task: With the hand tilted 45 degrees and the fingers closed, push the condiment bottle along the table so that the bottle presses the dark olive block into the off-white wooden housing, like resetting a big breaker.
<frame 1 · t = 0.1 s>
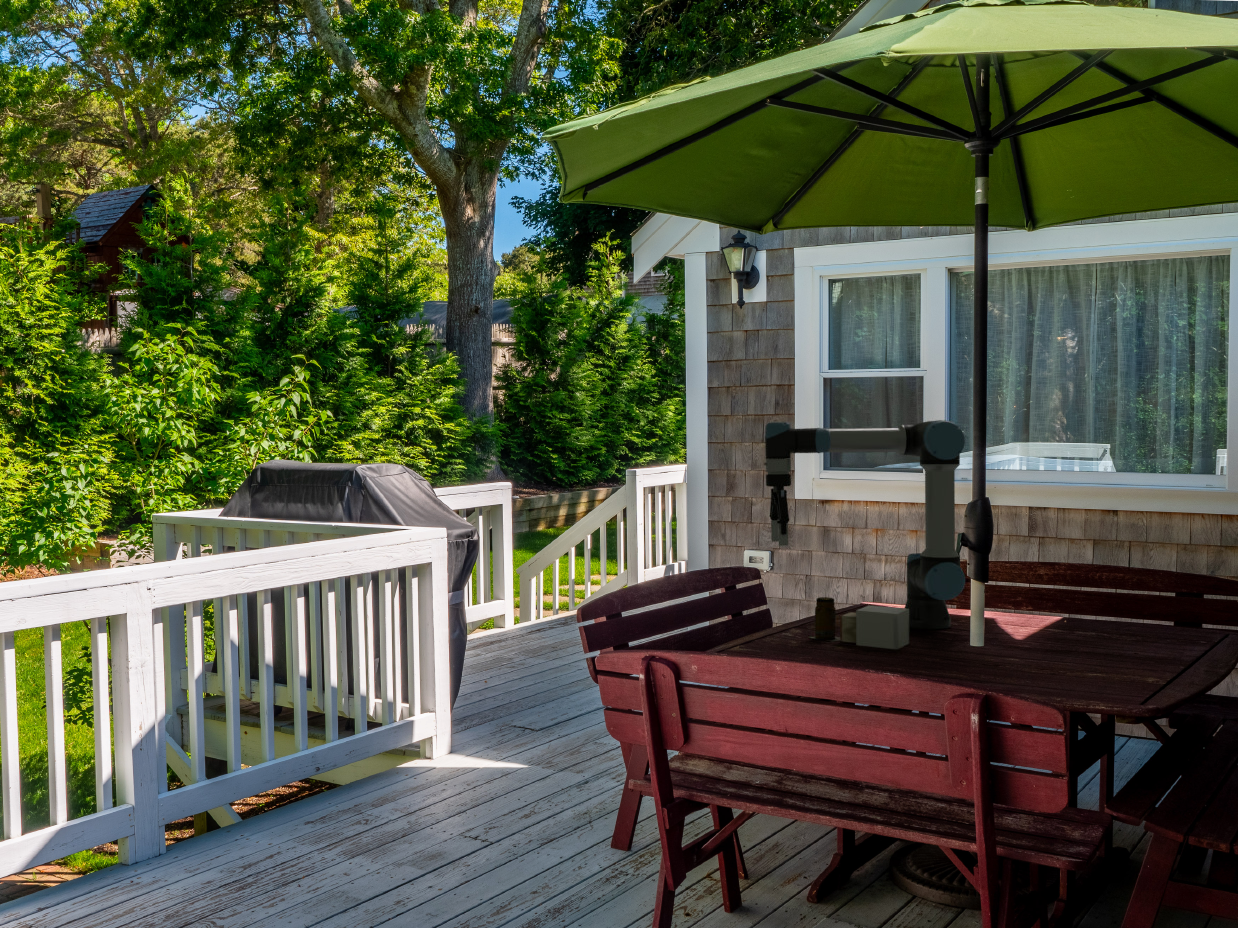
hand: (779, 543, 317), 28 cm above the table, tool pointing down, fingers open, 13 cm apart
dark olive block: (858, 627, 306), point 4 cm above the table, slide at 0.0 cm
housing: (846, 640, 308), on the table
condiment: (827, 639, 312), on the table
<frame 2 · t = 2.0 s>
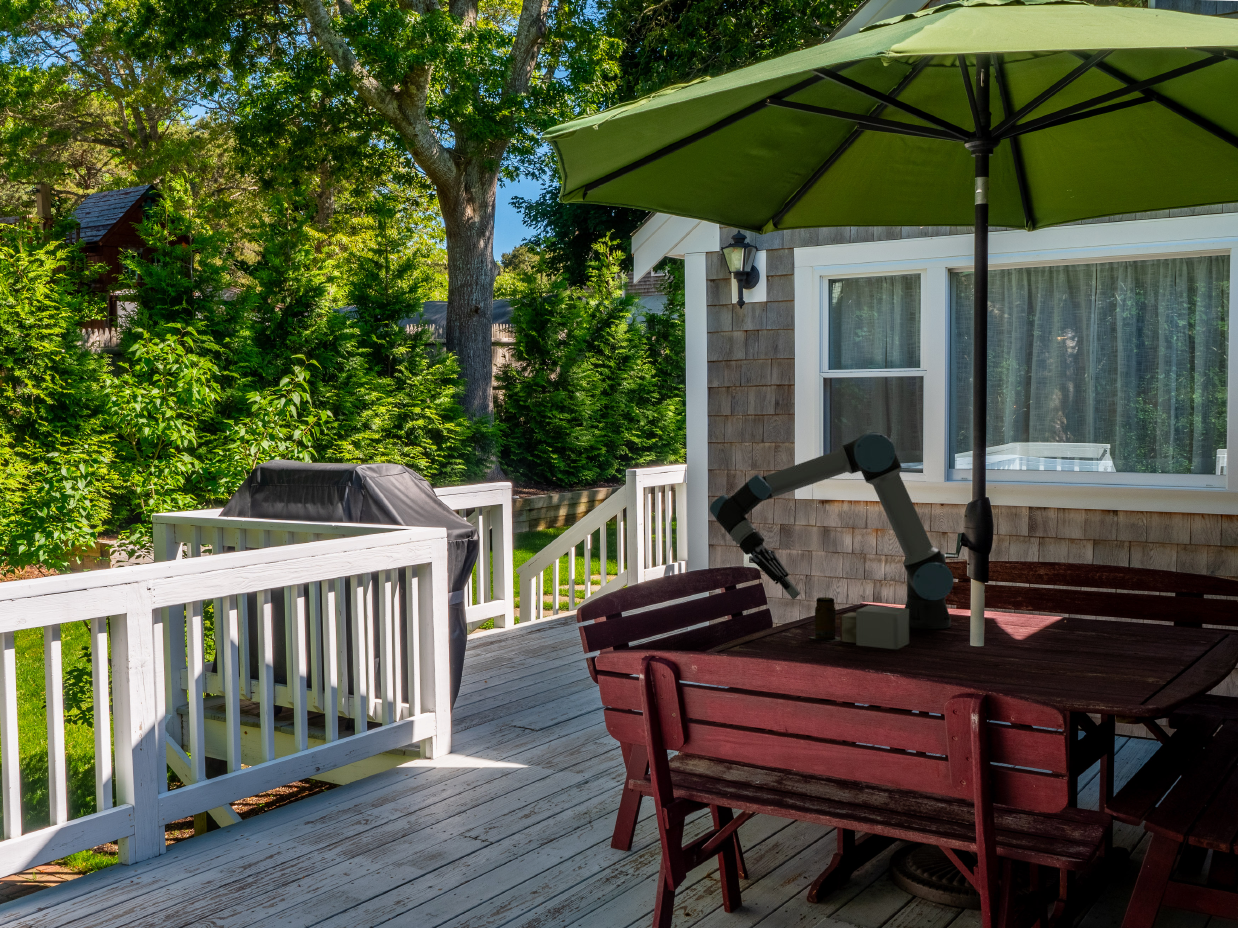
hand: (796, 596, 316), 12 cm above the table, tool tilted 45°, fingers closed
nothing on the table moved.
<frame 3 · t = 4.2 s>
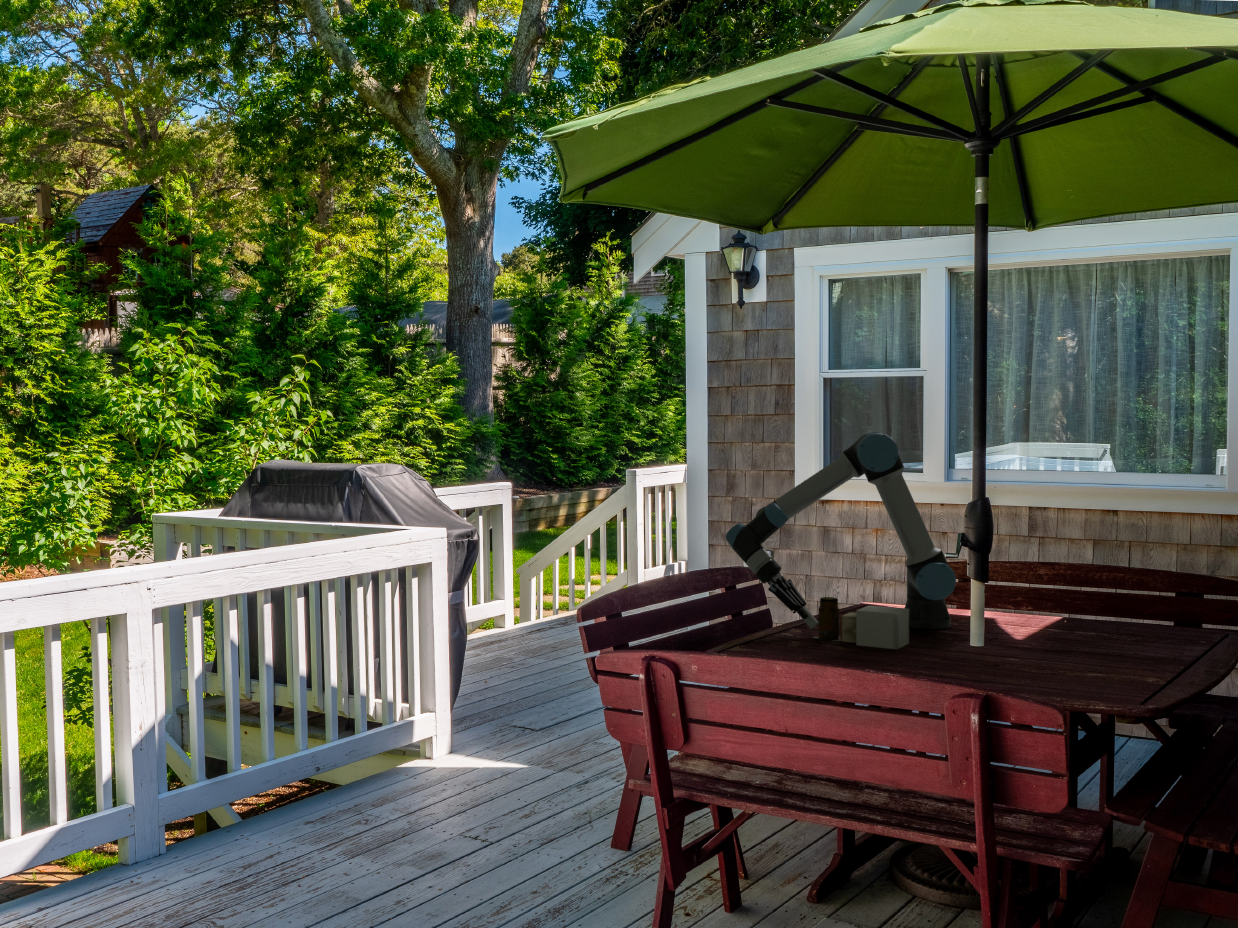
hand: (815, 625, 313), 4 cm above the table, tool tilted 45°, fingers closed
condiment: (830, 639, 311), on the table, touching gripper
everything else where it was.
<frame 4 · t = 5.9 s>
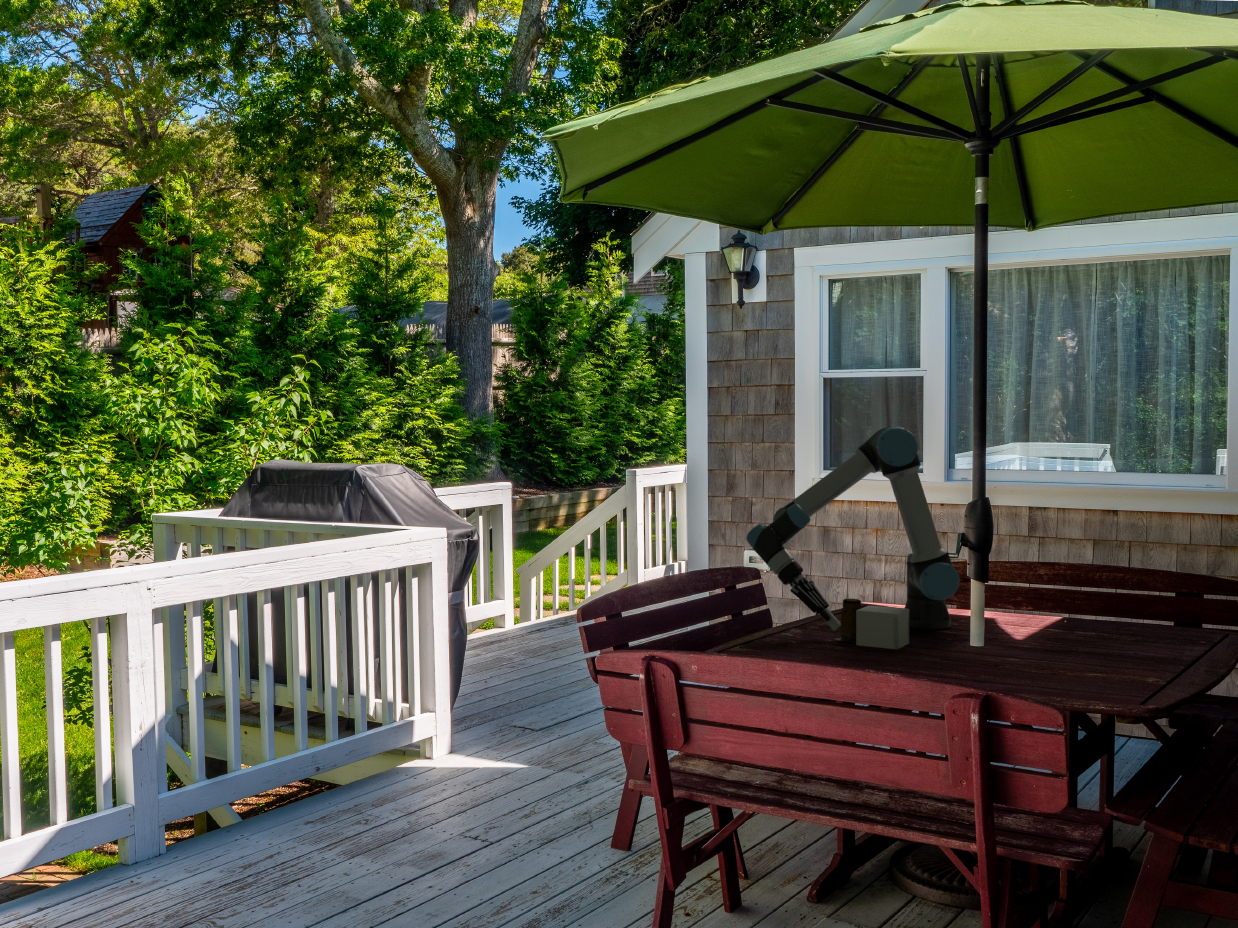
hand: (837, 627, 310), 4 cm above the table, tool tilted 45°, fingers closed
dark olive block: (881, 629, 302), point 4 cm above the table, slide at 6.9 cm, touching condiment
condiment: (853, 641, 307), on the table, touching gripper, housing, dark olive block
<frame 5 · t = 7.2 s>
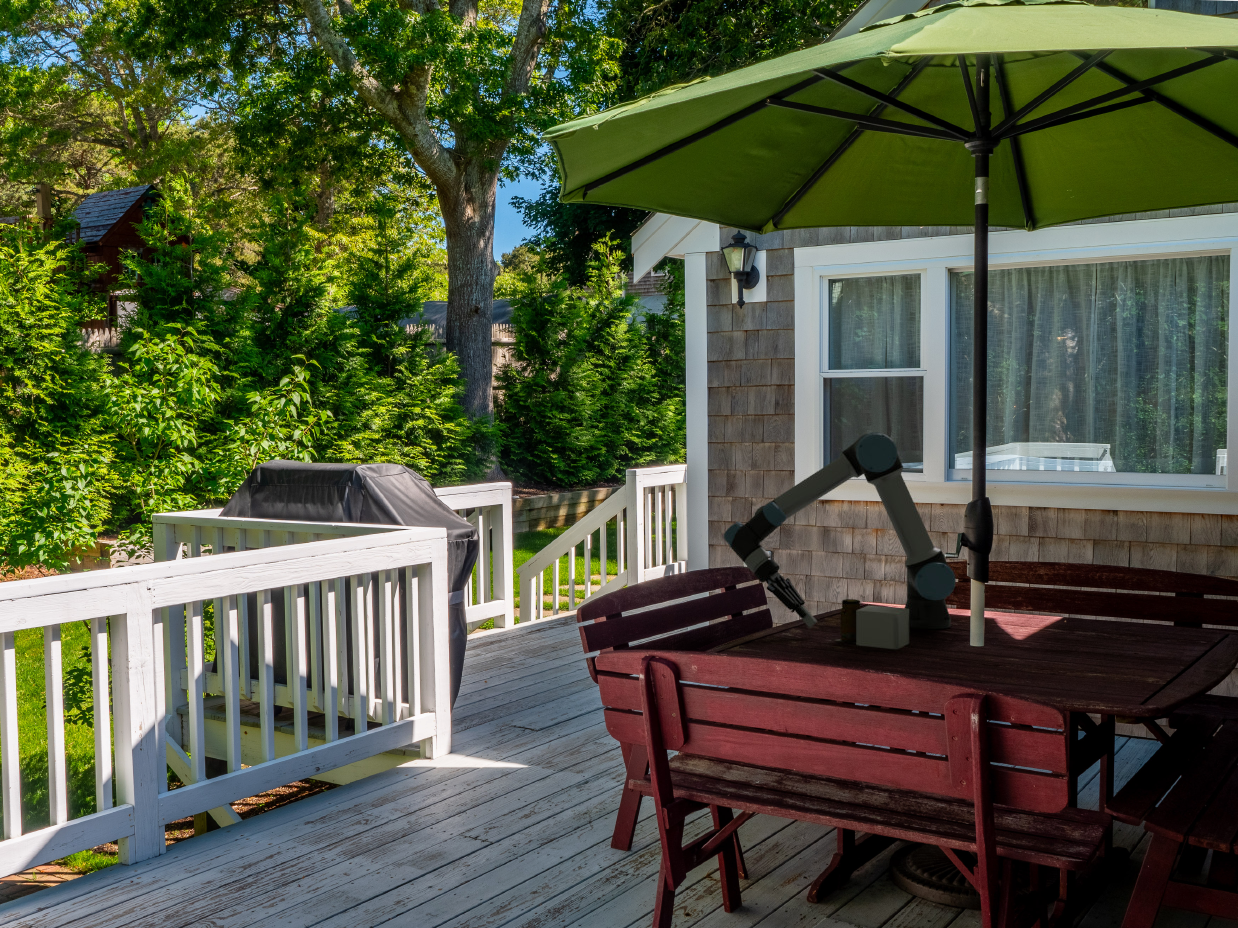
hand: (813, 624, 314), 4 cm above the table, tool tilted 45°, fingers closed
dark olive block: (881, 630, 302), point 4 cm above the table, slide at 6.9 cm
condiment: (853, 641, 307), on the table
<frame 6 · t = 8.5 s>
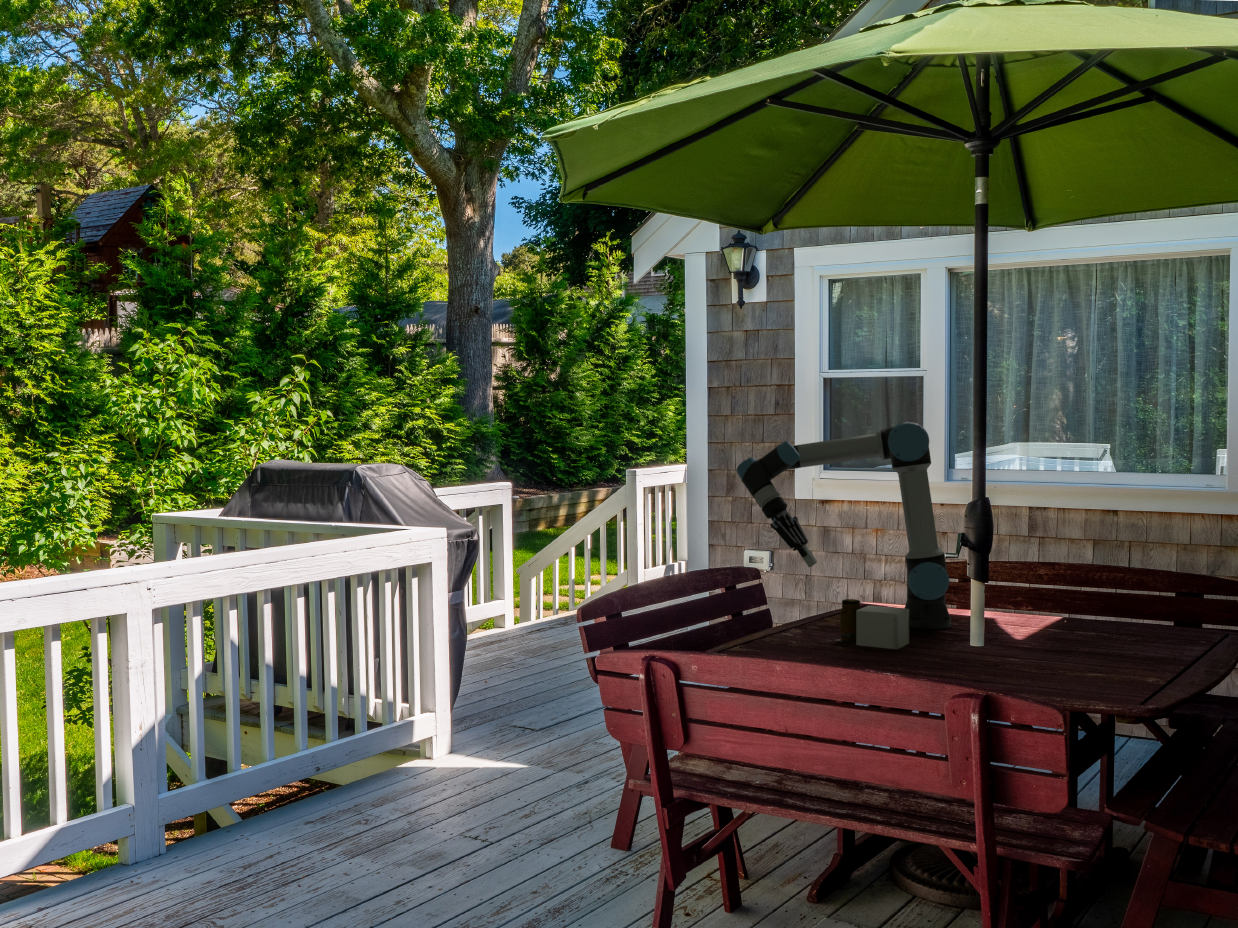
hand: (813, 564, 319), 21 cm above the table, tool tilted 40°, fingers closed
nothing on the table moved.
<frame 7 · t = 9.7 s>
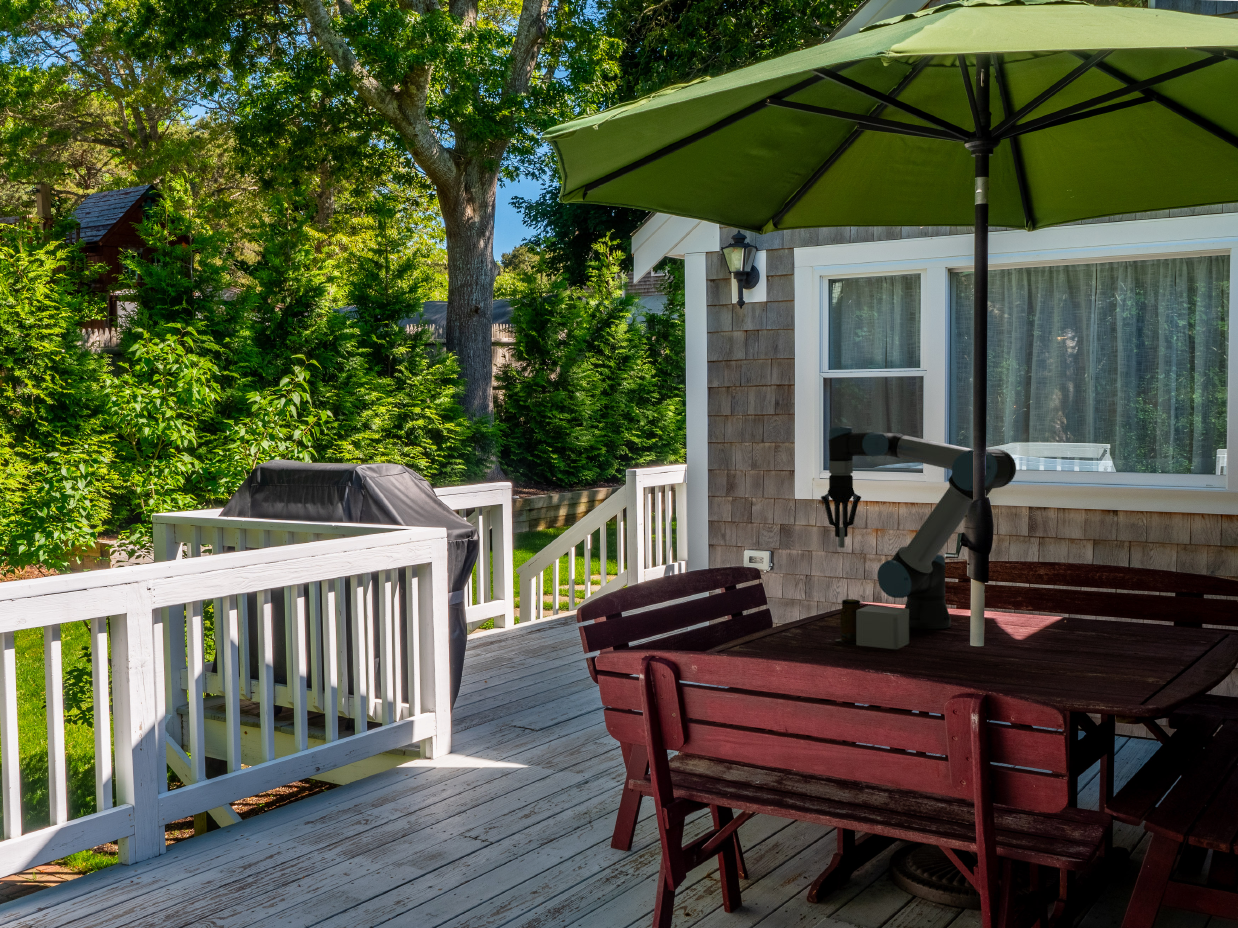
hand: (841, 547, 339), 24 cm above the table, tool pointing down, fingers closed
nothing on the table moved.
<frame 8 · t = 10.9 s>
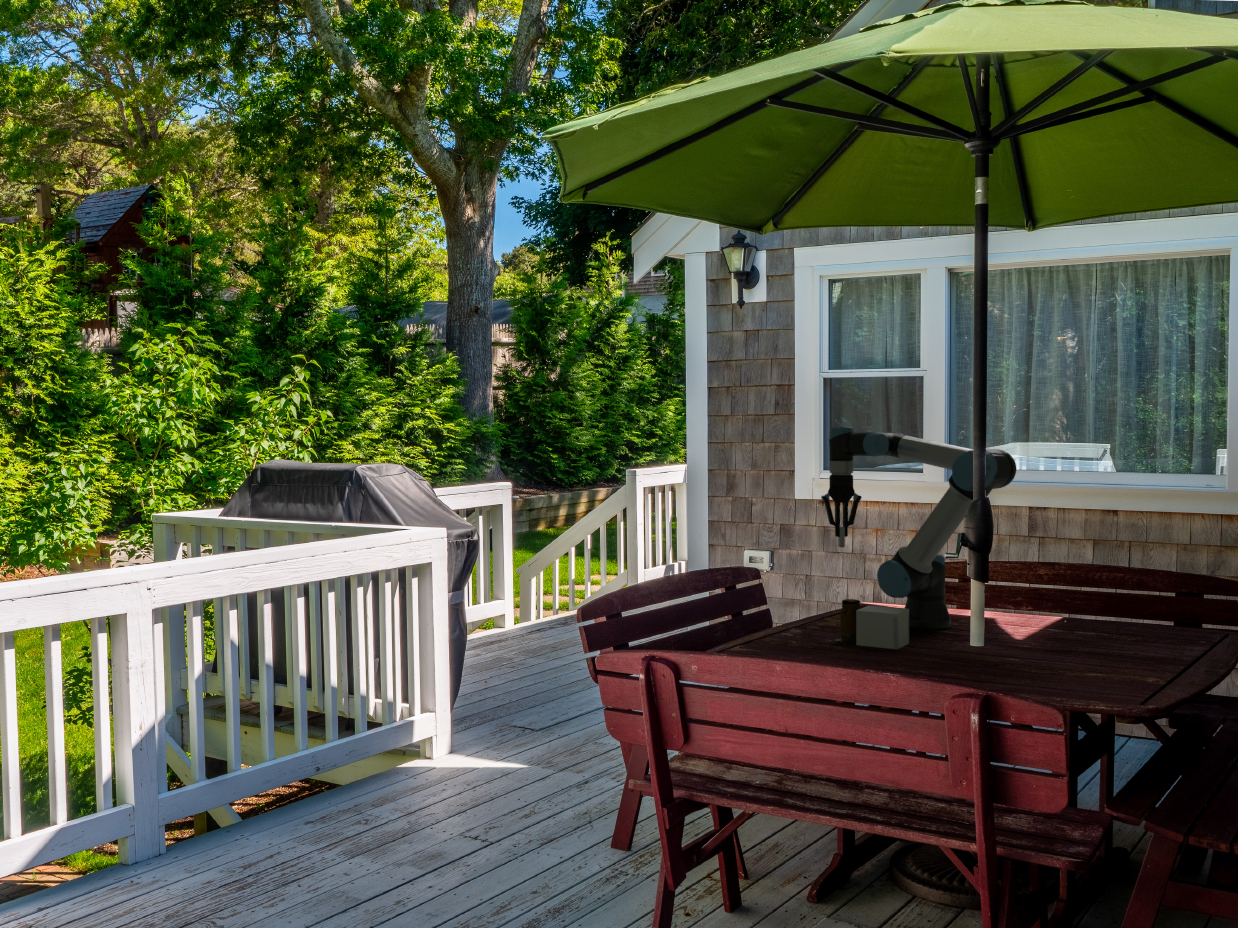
hand: (841, 546, 339), 24 cm above the table, tool pointing down, fingers closed
nothing on the table moved.
at the end: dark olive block slide at 6.9 cm; condiment moved 8.0 cm from its start; condiment tilted 0° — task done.
